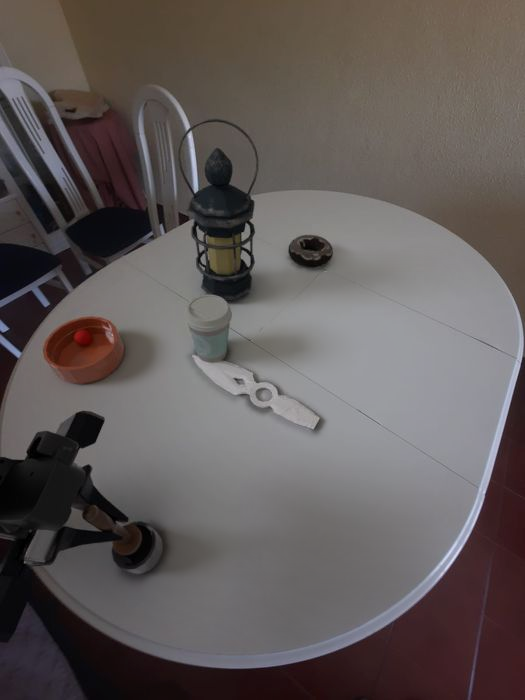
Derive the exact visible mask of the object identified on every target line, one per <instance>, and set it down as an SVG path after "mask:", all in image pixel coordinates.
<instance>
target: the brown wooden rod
mask: <svg viewBox="0 0 525 700" xmlns="http://www.w3.org/2000/svg"><path fill="white" fill-rule="evenodd" d="M81 517H82V520H84V522H86V523H88V524H89V525H90V526H93V527H94V528H96V529H97V530H98V531H101V532H110V533H115V534H118V535H122V536H123V540H120V541H112V546H113V548H114V550H115V551H116V552H117V553H119V554H121V555H124V556H127V555H130V554H132V553H134V552H135V551H136V550H137V549H138V548H139V546H140V544H141V541H142V533H141V531H140V530H139V529H138V528H137V527H136V526H135V525H132V524H130V523H127V524H124V525H121V524H119V522H116V521H114V520H113V519H112V518H111V517H109V516H108V515H107V514H105V513H104V512H103V511H102V510H100V509H99V508H98V507H97V506H95V505H89V506H87V507H85V508H84V510H83V511H82V512H81Z"/></svg>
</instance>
